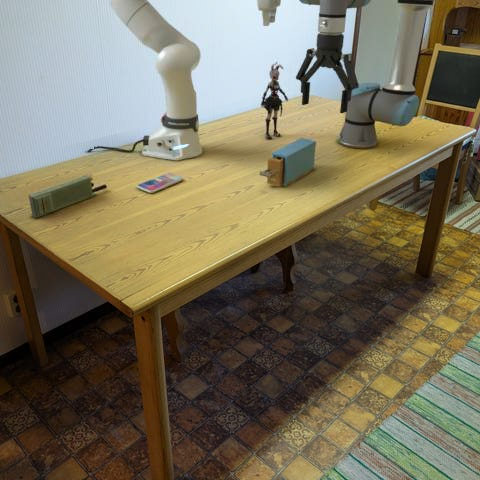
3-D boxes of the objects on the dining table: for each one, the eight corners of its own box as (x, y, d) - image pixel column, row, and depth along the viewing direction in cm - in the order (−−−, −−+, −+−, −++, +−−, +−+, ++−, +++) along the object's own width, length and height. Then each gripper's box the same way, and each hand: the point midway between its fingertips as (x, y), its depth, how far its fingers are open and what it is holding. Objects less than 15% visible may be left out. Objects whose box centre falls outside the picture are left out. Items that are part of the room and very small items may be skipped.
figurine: (264, 141, 202) (266, 63, 188) (253, 138, 206) (255, 61, 191) (288, 134, 211) (293, 59, 196) (278, 131, 215) (282, 57, 200)
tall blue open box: (285, 186, 164) (287, 156, 159) (270, 182, 167) (271, 152, 162) (313, 169, 177) (316, 141, 172) (299, 165, 180) (301, 137, 175)
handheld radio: (30, 215, 144) (102, 188, 161) (37, 219, 142) (109, 191, 159) (26, 193, 140) (100, 168, 157) (33, 197, 138) (107, 171, 155)
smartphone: (184, 177, 167) (150, 191, 157) (184, 180, 167) (151, 194, 157) (168, 171, 171) (134, 185, 161) (168, 174, 171) (135, 188, 161)
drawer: (270, 191, 158) (271, 166, 154) (258, 188, 160) (259, 162, 156) (306, 170, 174) (308, 146, 170) (295, 167, 176) (296, 143, 172)
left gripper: (267, -26, 165) (265, 20, 172) (253, -24, 148) (252, 27, 154) (286, -26, 164) (284, 20, 171) (275, -24, 146) (272, 28, 153)
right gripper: (287, 30, 148) (283, 103, 158) (363, 39, 133) (354, 118, 144) (301, 28, 152) (297, 98, 163) (377, 36, 138) (366, 113, 149)
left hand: (269, 24), depth 162 cm, fingers open, 8 cm apart
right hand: (323, 108), depth 153 cm, fingers open, 13 cm apart
